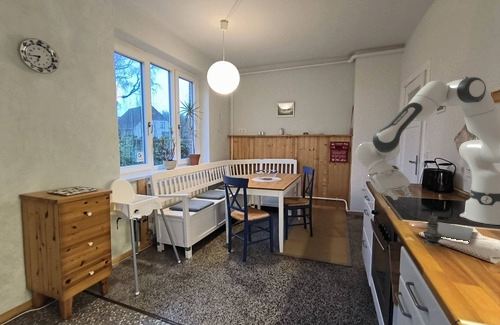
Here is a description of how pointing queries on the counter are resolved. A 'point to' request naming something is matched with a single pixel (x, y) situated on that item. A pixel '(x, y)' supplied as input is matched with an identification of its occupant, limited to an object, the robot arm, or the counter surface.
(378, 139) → the robot arm
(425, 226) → the peach domed round part
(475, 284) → the counter surface
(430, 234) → the black rounded upright piece
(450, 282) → the counter surface
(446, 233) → the slate board
